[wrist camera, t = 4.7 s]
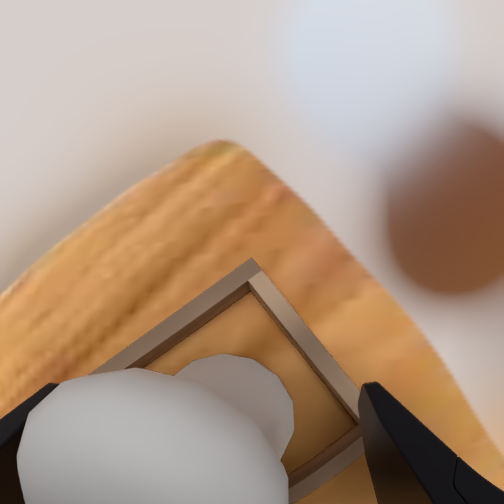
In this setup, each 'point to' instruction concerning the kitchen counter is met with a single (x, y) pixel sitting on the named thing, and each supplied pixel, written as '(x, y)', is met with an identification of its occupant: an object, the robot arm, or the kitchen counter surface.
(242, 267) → the square wooden frame
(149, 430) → the salt shaker
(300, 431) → the kitchen counter surface
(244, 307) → the kitchen counter surface
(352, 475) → the kitchen counter surface
